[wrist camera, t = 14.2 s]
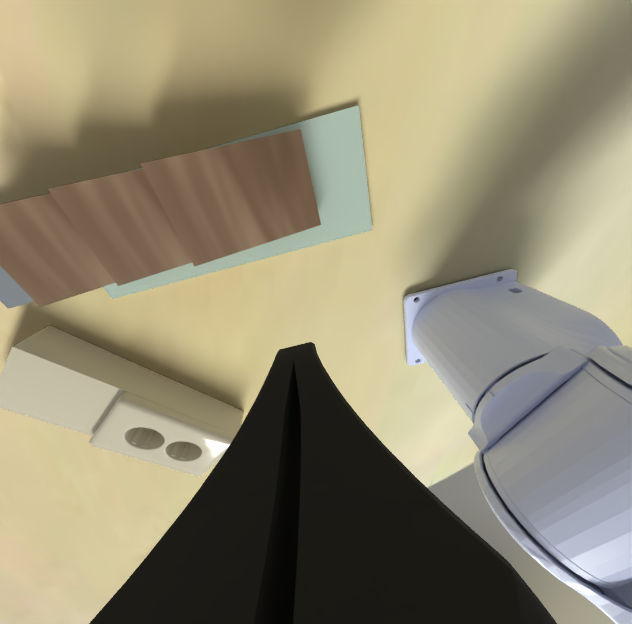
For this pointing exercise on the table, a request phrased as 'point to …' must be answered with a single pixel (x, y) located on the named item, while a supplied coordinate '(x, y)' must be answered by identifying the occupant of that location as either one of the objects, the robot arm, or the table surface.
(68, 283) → the walnut domino
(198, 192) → the walnut domino
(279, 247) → the sage mat
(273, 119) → the table surface
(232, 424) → the electrical outlet
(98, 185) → the walnut domino
